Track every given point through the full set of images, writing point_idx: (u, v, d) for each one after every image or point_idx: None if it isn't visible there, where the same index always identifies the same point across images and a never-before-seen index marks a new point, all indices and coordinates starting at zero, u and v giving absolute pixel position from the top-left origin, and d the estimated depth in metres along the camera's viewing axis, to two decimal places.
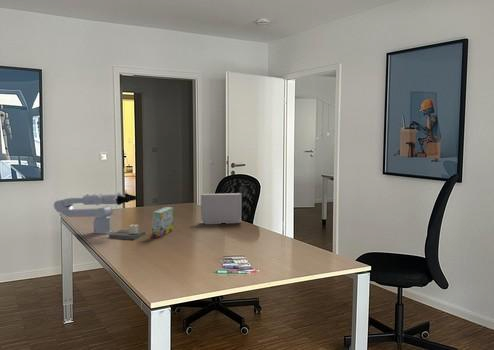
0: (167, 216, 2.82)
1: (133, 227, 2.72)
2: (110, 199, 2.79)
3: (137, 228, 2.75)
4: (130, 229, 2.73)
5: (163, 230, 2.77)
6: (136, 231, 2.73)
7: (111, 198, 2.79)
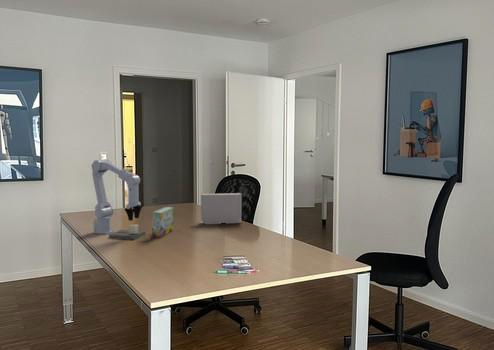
0: (167, 216, 2.82)
1: (133, 227, 2.72)
2: (131, 197, 2.70)
3: (137, 228, 2.75)
4: (130, 229, 2.73)
5: (163, 230, 2.77)
6: (136, 231, 2.73)
7: (132, 198, 2.70)
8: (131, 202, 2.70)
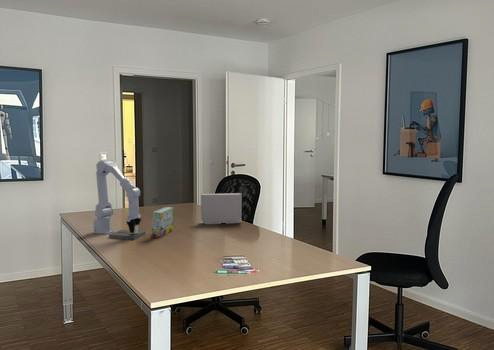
0: (167, 216, 2.82)
1: None
2: (131, 210, 2.71)
3: (137, 228, 2.75)
4: None
5: (163, 230, 2.77)
6: (136, 231, 2.73)
7: (132, 211, 2.71)
8: (131, 215, 2.71)
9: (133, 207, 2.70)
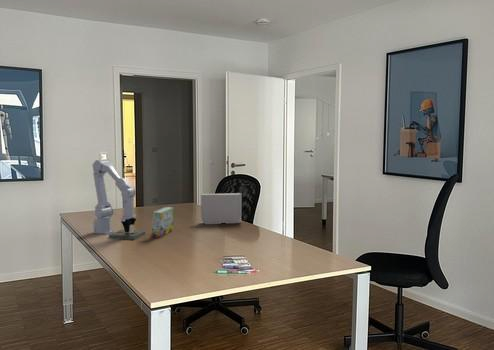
0: (167, 216, 2.82)
1: None
2: (126, 209, 2.71)
3: (132, 228, 2.75)
4: None
5: (163, 230, 2.77)
6: (131, 231, 2.74)
7: (127, 211, 2.71)
8: (126, 214, 2.72)
9: (128, 207, 2.71)
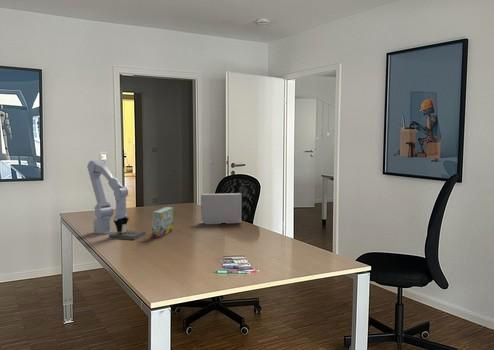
0: (167, 216, 2.82)
1: None
2: (119, 209, 2.72)
3: (125, 227, 2.76)
4: None
5: (163, 230, 2.77)
6: (124, 230, 2.75)
7: (120, 210, 2.72)
8: (119, 214, 2.73)
9: (120, 206, 2.72)
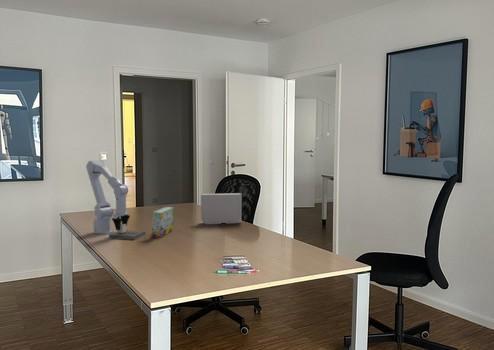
0: (167, 216, 2.82)
1: (120, 226, 2.74)
2: (119, 207, 2.72)
3: (125, 227, 2.76)
4: None
5: (163, 230, 2.77)
6: (124, 230, 2.75)
7: (120, 208, 2.72)
8: (118, 212, 2.73)
9: (120, 204, 2.72)
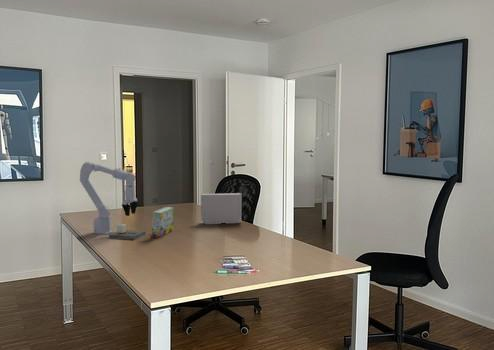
0: (167, 216, 2.82)
1: (120, 226, 2.74)
2: (128, 193, 2.85)
3: (125, 227, 2.76)
4: (118, 228, 2.75)
5: (163, 230, 2.77)
6: (124, 230, 2.75)
7: (129, 195, 2.85)
8: (128, 198, 2.85)
9: (133, 191, 2.86)
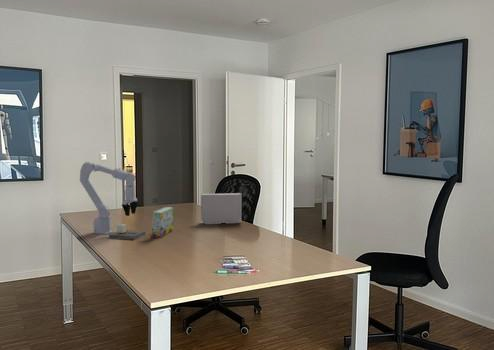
0: (167, 216, 2.82)
1: (120, 226, 2.74)
2: (128, 193, 2.85)
3: (125, 227, 2.76)
4: (118, 228, 2.75)
5: (163, 230, 2.77)
6: (124, 230, 2.75)
7: (129, 195, 2.85)
8: (128, 198, 2.85)
9: (133, 191, 2.86)
